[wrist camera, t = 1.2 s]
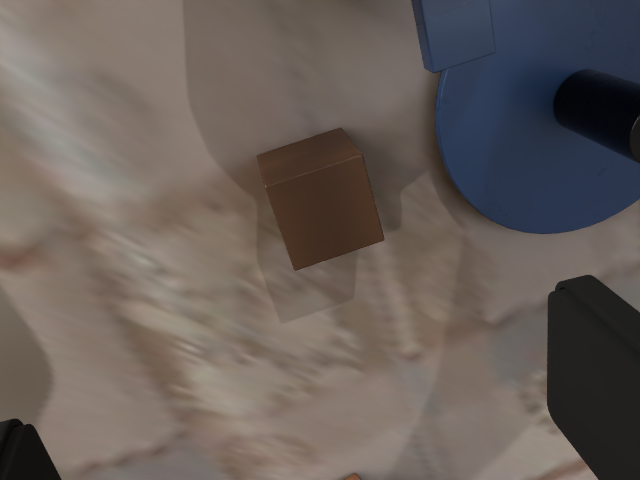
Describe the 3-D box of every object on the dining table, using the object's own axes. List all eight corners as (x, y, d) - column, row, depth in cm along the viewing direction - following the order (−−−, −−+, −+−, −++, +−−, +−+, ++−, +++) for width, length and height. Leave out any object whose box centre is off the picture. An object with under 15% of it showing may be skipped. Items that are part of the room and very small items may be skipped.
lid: (704, -109, 27) (857, -127, 21) (696, 177, 34) (809, 228, 28) (403, -11, 27) (466, 1, 20) (456, 259, 34) (515, 331, 27)
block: (341, 127, 29) (362, 153, 25) (362, 204, 31) (384, 240, 27) (256, 155, 29) (264, 186, 25) (283, 231, 31) (294, 271, 27)
